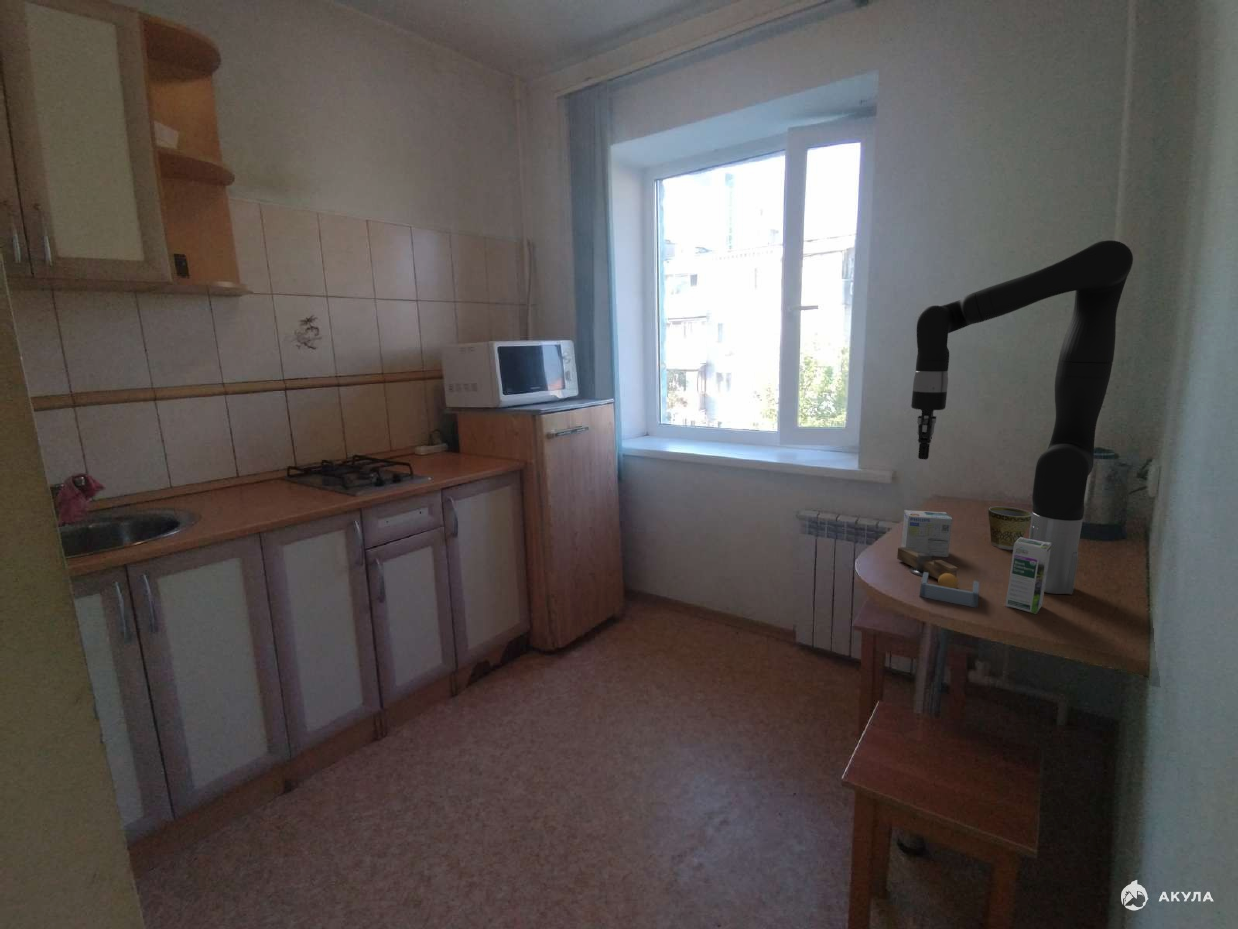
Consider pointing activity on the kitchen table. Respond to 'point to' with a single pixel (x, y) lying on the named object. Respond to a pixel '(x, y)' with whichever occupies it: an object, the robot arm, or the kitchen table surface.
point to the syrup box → (1028, 574)
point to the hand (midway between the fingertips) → (923, 458)
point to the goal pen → (949, 593)
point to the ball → (948, 580)
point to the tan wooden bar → (925, 563)
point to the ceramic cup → (1007, 525)
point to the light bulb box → (927, 532)
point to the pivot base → (917, 572)
